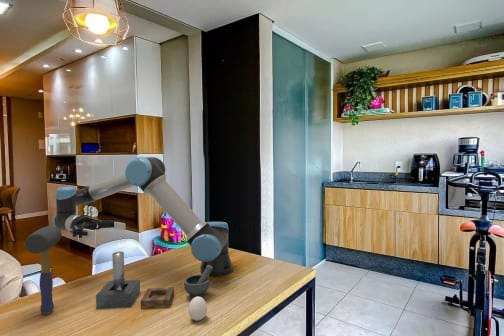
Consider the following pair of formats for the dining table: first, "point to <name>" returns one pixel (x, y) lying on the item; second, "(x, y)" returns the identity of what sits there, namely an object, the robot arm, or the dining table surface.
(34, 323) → the dining table surface
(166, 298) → the wooden square tray
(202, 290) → the mortar and pestle
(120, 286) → the brushed metal peg
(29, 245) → the rubber mallet
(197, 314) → the egg
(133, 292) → the socket
